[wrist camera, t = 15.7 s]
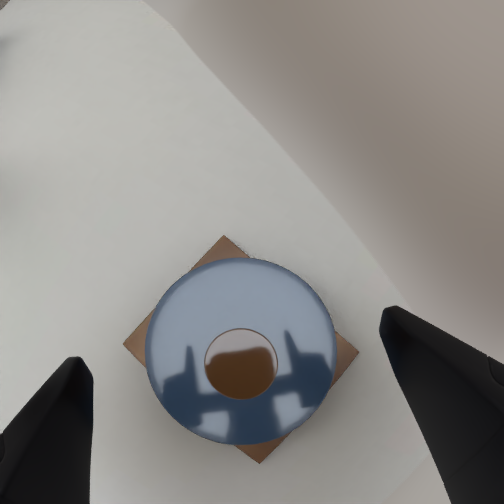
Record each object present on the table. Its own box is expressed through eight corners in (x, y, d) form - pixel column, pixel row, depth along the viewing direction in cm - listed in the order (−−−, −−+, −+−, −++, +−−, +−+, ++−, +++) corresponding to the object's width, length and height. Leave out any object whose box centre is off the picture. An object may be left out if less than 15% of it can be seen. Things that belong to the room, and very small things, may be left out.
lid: (319, 445, 18) (368, 506, 9) (140, 423, 18) (79, 470, 9) (339, 273, 21) (401, 228, 12) (164, 250, 21) (118, 191, 12)
